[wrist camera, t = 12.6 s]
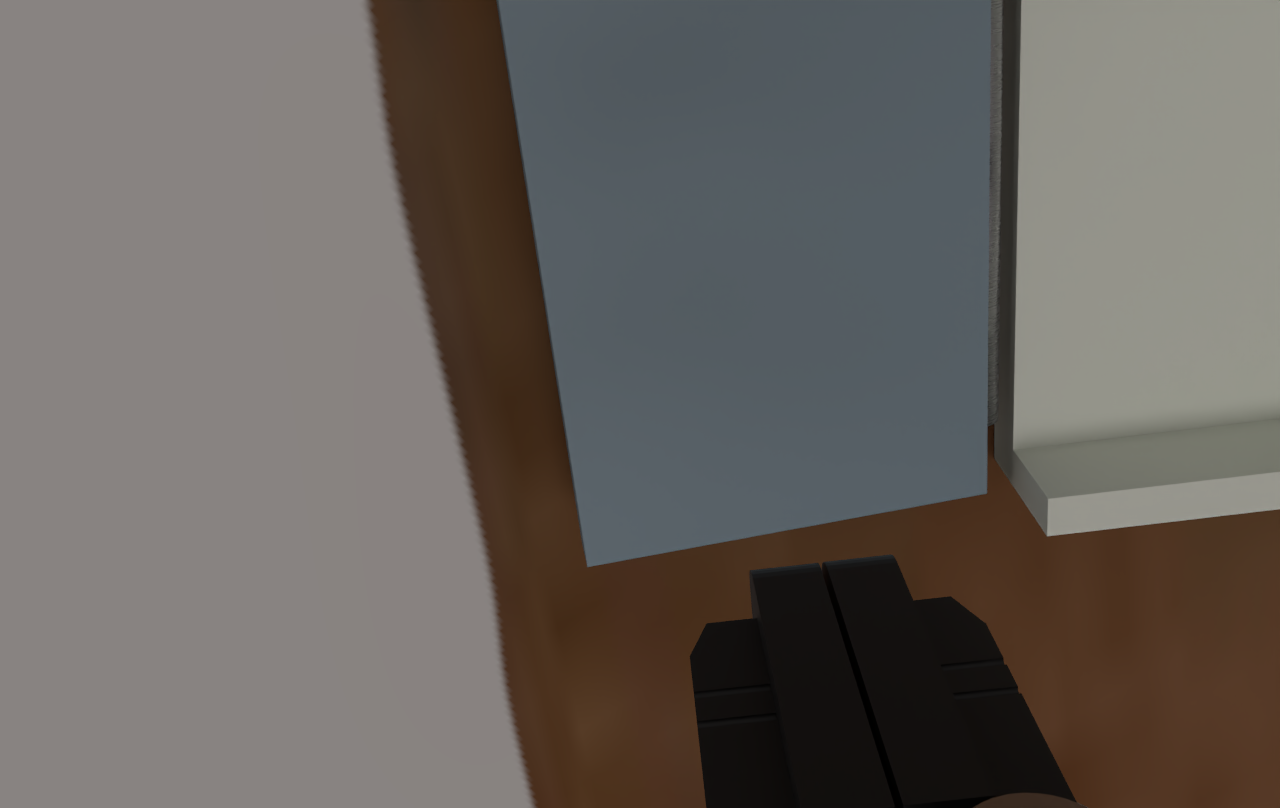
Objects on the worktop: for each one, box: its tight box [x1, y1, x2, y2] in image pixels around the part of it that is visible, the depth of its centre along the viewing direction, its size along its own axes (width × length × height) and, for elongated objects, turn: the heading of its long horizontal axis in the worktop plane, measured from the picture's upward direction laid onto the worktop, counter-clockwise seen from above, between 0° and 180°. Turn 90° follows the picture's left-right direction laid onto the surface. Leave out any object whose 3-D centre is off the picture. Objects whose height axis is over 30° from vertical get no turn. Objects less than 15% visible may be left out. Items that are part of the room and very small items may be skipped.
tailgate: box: [496, 0, 1004, 567], centre depth 26 cm, size 1×16×10 cm
